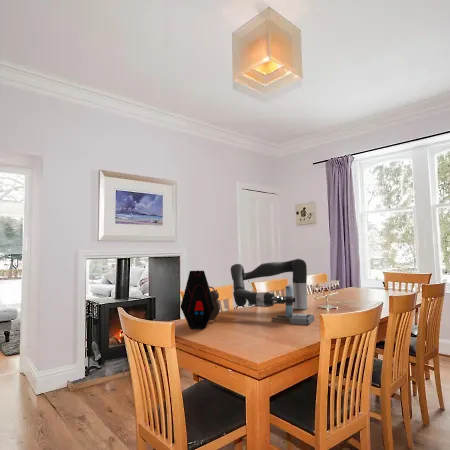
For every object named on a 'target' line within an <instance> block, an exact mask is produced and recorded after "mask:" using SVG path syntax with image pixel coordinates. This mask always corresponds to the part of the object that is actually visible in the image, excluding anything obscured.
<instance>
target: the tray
mask: <svg viewBox="0 0 450 450" xmlns="http://www.w3.org/2000/svg"><path fill="white" fill-rule="evenodd" d="M314 321H315V314H308V318H307V319H303V318H290V323H289V324H292V325H303V326H304V325H305V326H309V325H310V324H312V323H313V322H314Z"/></svg>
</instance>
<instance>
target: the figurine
mask: <svg viewBox="0 0 450 450" xmlns="http://www.w3.org/2000/svg"><path fill="white" fill-rule="evenodd" d="M205 272H206V271H205V270H190V271H189V273H188V278H187V281H186V284H185V285H186V286H185V289H184V293H183V297H182V298H181V303H180V310H181V311H182V314H183V316H184V318H185V320H186V323H187V325H188V327H189V330H205V329H206V328H207V326H208V324H209V322H210V321H211V320H210V317H211V315H212V313H213V311H214V309H215V304H214V301H213V298H212V295H211V291H212V290H211V288H210V287H209V286H210V285H209V282H208V279H207V276H206V273H205ZM209 320H210V321H209Z"/></svg>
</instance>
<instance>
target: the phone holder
mask: <svg viewBox="0 0 450 450" xmlns="http://www.w3.org/2000/svg"><path fill="white" fill-rule="evenodd" d="M269 293H273V292H272V291H270V292H269ZM274 296H275V294H274ZM252 306H257V305H256V304H250V303H249V302H248V307H252ZM265 307H267V308H269V307H270V306H265Z"/></svg>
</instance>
